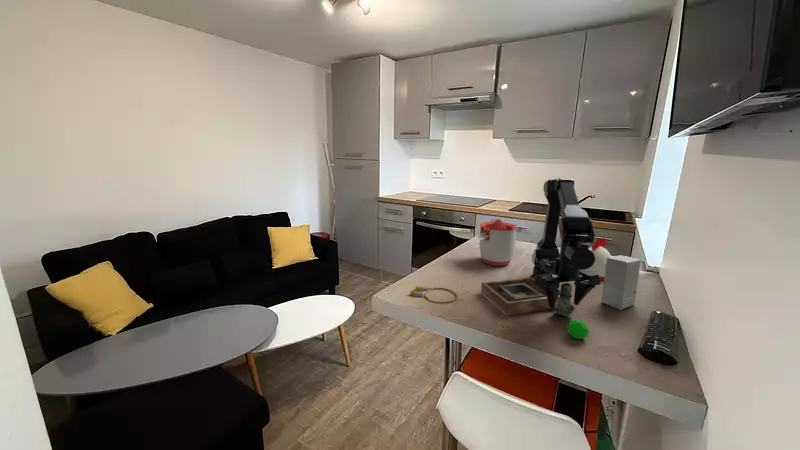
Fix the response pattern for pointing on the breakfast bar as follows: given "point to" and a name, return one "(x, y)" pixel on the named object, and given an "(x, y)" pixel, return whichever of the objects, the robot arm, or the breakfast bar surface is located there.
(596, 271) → the white chicken dome
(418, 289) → the extension cord
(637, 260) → the skincare box
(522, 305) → the walled box
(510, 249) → the citrus juicer
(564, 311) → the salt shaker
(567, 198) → the robot arm
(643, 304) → the breakfast bar surface
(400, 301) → the breakfast bar surface
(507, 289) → the inlet collar
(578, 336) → the polyhedron
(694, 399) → the breakfast bar surface
